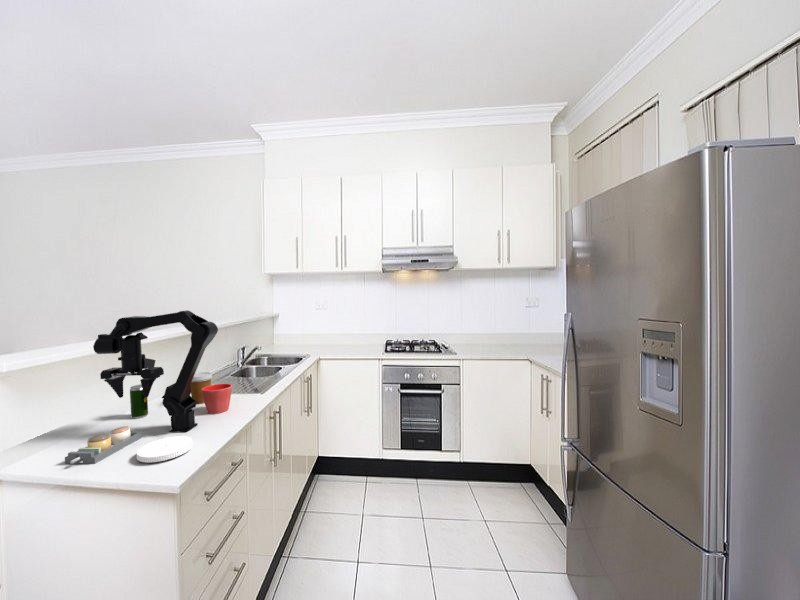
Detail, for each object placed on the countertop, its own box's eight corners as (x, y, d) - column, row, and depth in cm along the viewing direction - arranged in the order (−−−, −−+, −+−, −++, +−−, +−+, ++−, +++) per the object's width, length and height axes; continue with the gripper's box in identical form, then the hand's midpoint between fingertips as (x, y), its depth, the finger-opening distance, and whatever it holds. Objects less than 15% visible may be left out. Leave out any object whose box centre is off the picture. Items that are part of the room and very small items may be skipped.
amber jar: (100, 457, 105) (99, 440, 104) (82, 457, 105) (82, 440, 105) (116, 449, 110) (115, 433, 110) (99, 449, 110) (98, 433, 110)
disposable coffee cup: (205, 405, 150) (204, 377, 149) (183, 405, 150) (182, 377, 149) (217, 398, 159) (216, 371, 159) (196, 398, 159) (195, 372, 159)
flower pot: (212, 406, 148) (211, 383, 148) (237, 405, 148) (236, 383, 148) (196, 415, 138) (195, 391, 137) (224, 415, 137) (223, 390, 137)
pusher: (101, 456, 104) (100, 447, 104) (82, 466, 99) (81, 457, 98) (81, 456, 105) (80, 447, 105) (61, 466, 99) (60, 457, 99)
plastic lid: (124, 464, 101) (123, 455, 101) (164, 442, 114) (164, 435, 114) (167, 467, 98) (167, 458, 98) (203, 444, 112) (202, 436, 112)
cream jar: (129, 436, 119) (128, 424, 119) (132, 440, 116) (131, 428, 115) (110, 442, 115) (109, 430, 115) (113, 446, 112) (111, 434, 112)
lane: (143, 436, 119) (143, 427, 119) (94, 463, 101) (94, 453, 101) (118, 436, 119) (117, 427, 119) (65, 463, 101) (64, 453, 101)
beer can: (130, 420, 135) (128, 389, 134) (131, 416, 139) (130, 385, 138) (148, 417, 137) (146, 386, 137) (148, 413, 142) (147, 383, 141)
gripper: (173, 348, 130) (175, 390, 131) (124, 349, 131) (127, 390, 132) (150, 354, 119) (153, 400, 120) (97, 355, 120) (100, 400, 121)
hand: (133, 397), depth 123 cm, fingers open, 9 cm apart
